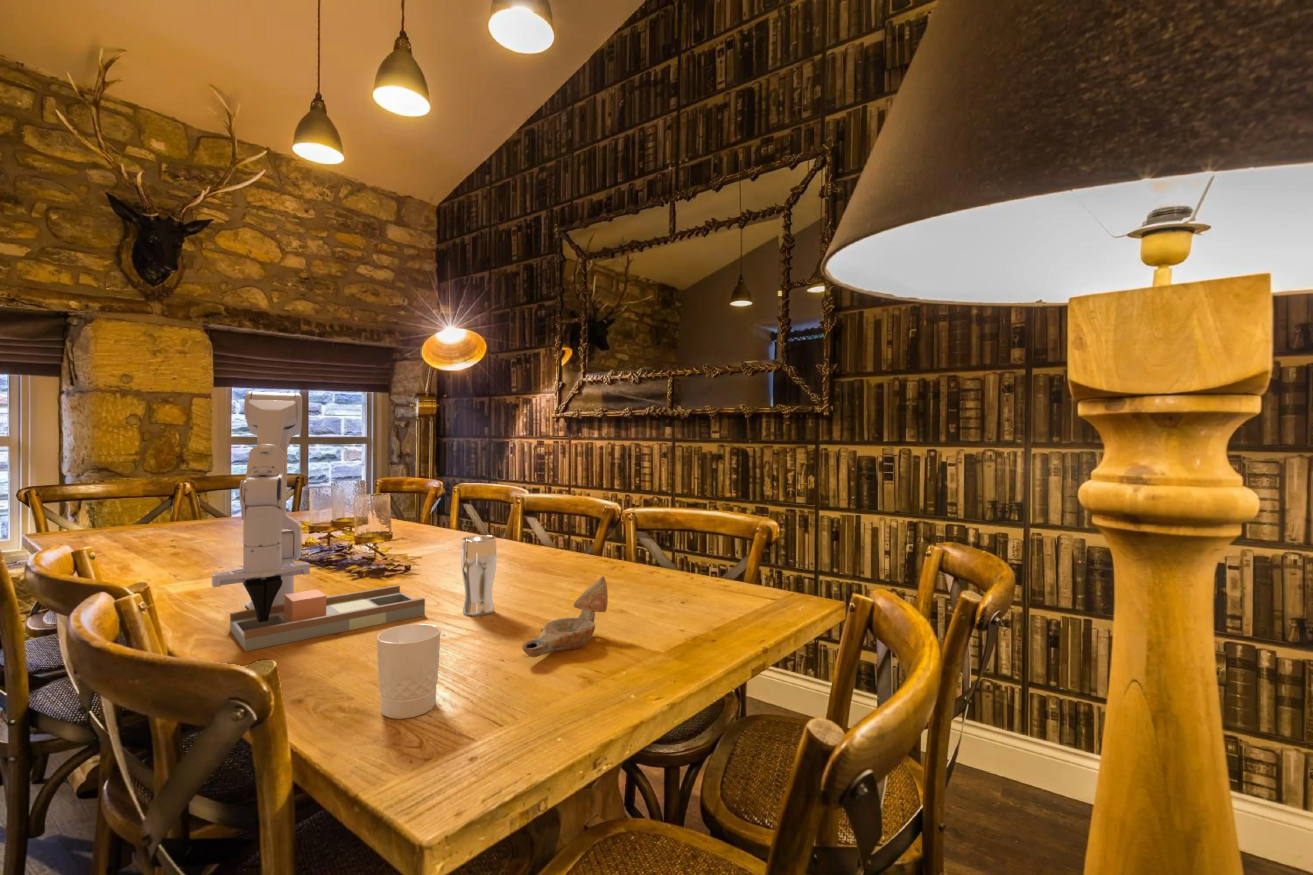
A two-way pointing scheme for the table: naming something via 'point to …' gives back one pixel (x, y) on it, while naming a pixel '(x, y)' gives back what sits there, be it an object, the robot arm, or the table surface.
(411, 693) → the white cup
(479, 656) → the table surface
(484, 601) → the beer glass
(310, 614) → the block
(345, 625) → the grey long tray
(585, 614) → the oil lamp
